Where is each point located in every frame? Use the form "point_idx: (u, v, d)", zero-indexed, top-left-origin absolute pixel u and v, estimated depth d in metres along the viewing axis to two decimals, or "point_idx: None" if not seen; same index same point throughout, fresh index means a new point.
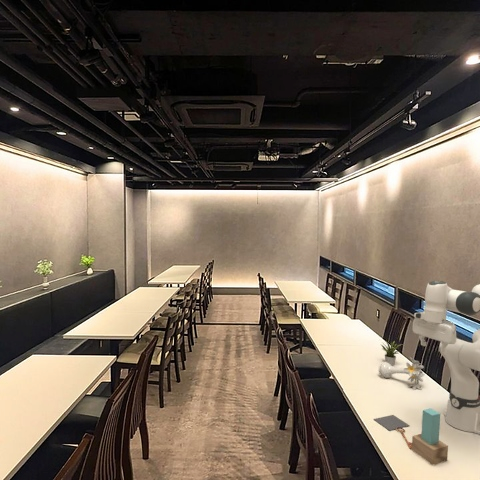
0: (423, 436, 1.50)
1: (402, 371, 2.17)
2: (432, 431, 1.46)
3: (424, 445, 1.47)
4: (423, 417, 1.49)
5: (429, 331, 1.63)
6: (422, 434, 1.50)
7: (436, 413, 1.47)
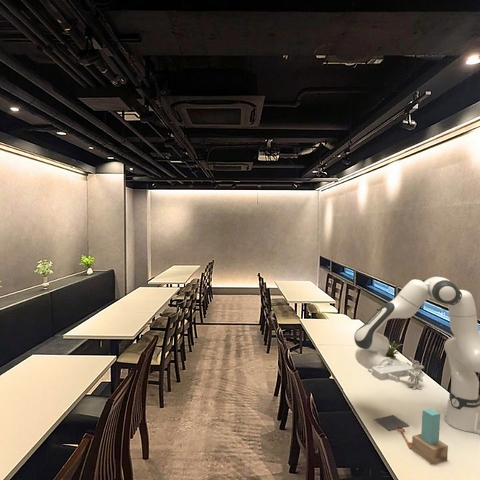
0: (423, 436, 1.50)
1: None
2: (432, 431, 1.46)
3: (424, 445, 1.47)
4: (423, 417, 1.49)
5: None
6: (422, 434, 1.50)
7: (436, 413, 1.47)
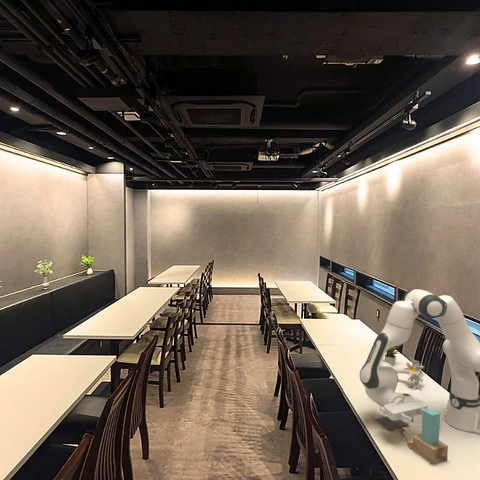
0: (423, 436, 1.50)
1: (402, 371, 2.17)
2: (432, 431, 1.46)
3: (424, 445, 1.47)
4: (423, 417, 1.49)
5: None
6: (422, 434, 1.50)
7: (436, 413, 1.47)
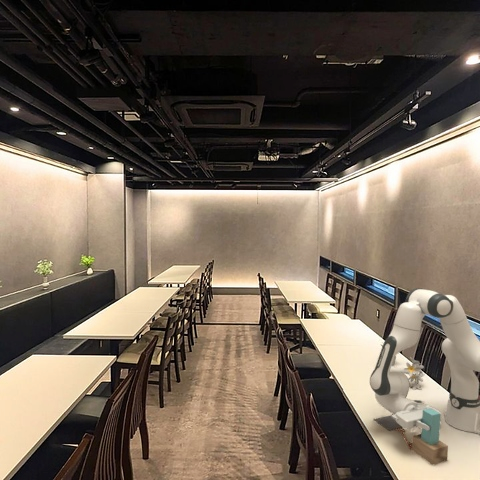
0: (423, 436, 1.50)
1: (402, 371, 2.17)
2: (432, 431, 1.46)
3: (424, 445, 1.47)
4: (423, 417, 1.49)
5: None
6: (422, 434, 1.50)
7: (436, 413, 1.47)
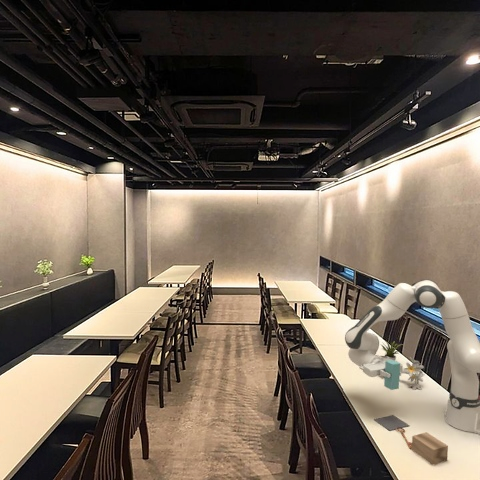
0: (385, 383, 1.74)
1: (402, 371, 2.17)
2: (392, 378, 1.70)
3: (424, 445, 1.47)
4: (386, 367, 1.74)
5: None
6: (385, 382, 1.74)
7: (396, 363, 1.71)
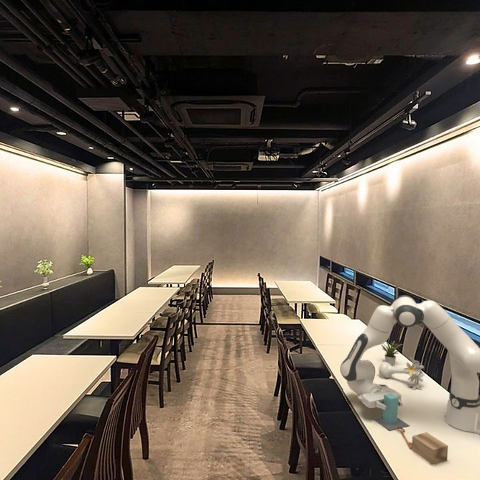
0: (384, 417, 1.74)
1: (402, 371, 2.17)
2: (391, 412, 1.71)
3: (424, 445, 1.47)
4: (384, 401, 1.74)
5: None
6: (383, 415, 1.75)
7: (395, 397, 1.72)
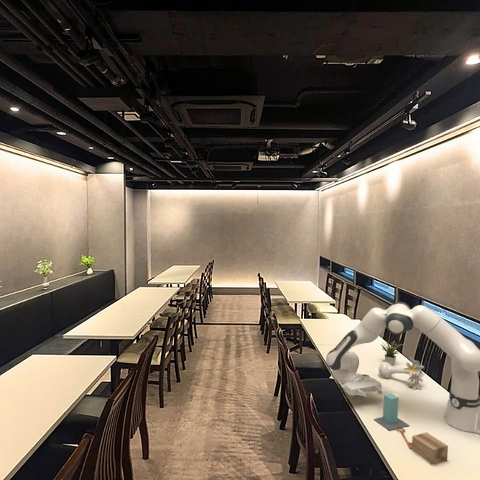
0: (384, 417, 1.74)
1: (402, 371, 2.17)
2: (391, 412, 1.71)
3: (424, 445, 1.47)
4: (384, 401, 1.74)
5: None
6: (383, 415, 1.75)
7: (395, 397, 1.72)
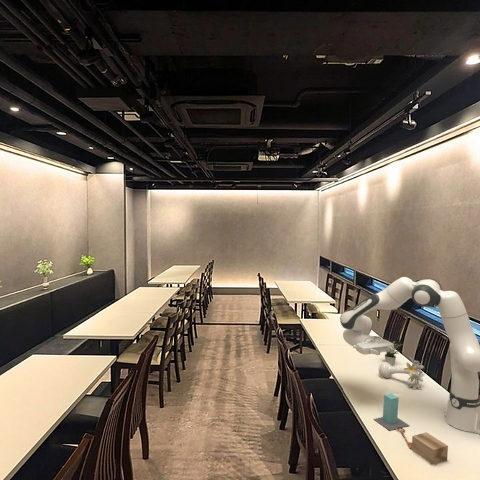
0: (384, 417, 1.74)
1: (402, 371, 2.17)
2: (391, 412, 1.71)
3: (424, 445, 1.47)
4: (384, 401, 1.74)
5: None
6: (383, 415, 1.75)
7: (395, 397, 1.72)
